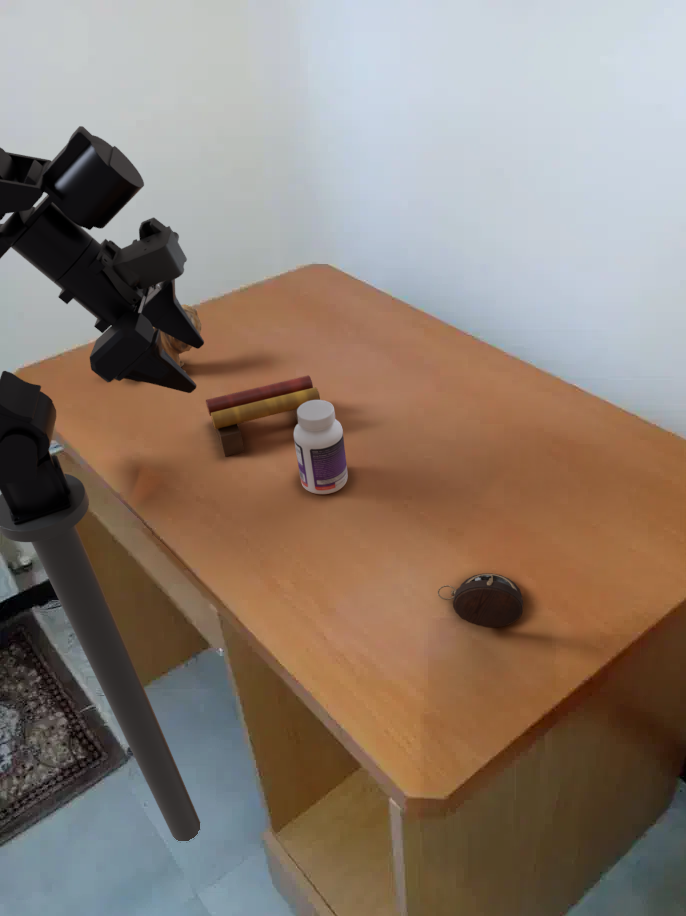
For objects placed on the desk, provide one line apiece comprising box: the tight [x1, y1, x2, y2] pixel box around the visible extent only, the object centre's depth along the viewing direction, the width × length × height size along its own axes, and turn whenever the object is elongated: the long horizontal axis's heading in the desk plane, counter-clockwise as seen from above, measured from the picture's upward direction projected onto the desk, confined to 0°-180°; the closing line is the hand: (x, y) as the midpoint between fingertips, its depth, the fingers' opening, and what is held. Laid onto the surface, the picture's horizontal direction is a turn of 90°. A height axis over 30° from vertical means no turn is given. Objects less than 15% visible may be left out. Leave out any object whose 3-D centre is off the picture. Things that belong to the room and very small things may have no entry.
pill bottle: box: [293, 399, 349, 495], centre depth 87 cm, size 5×5×10 cm
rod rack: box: [205, 374, 321, 458], centre depth 97 cm, size 13×7×5 cm, turn 111°
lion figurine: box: [153, 303, 203, 373], centre depth 107 cm, size 15×5×9 cm, turn 102°
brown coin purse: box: [437, 572, 524, 628], centre depth 73 cm, size 8×8×7 cm
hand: (197, 366), depth 84 cm, fingers open, 9 cm apart
